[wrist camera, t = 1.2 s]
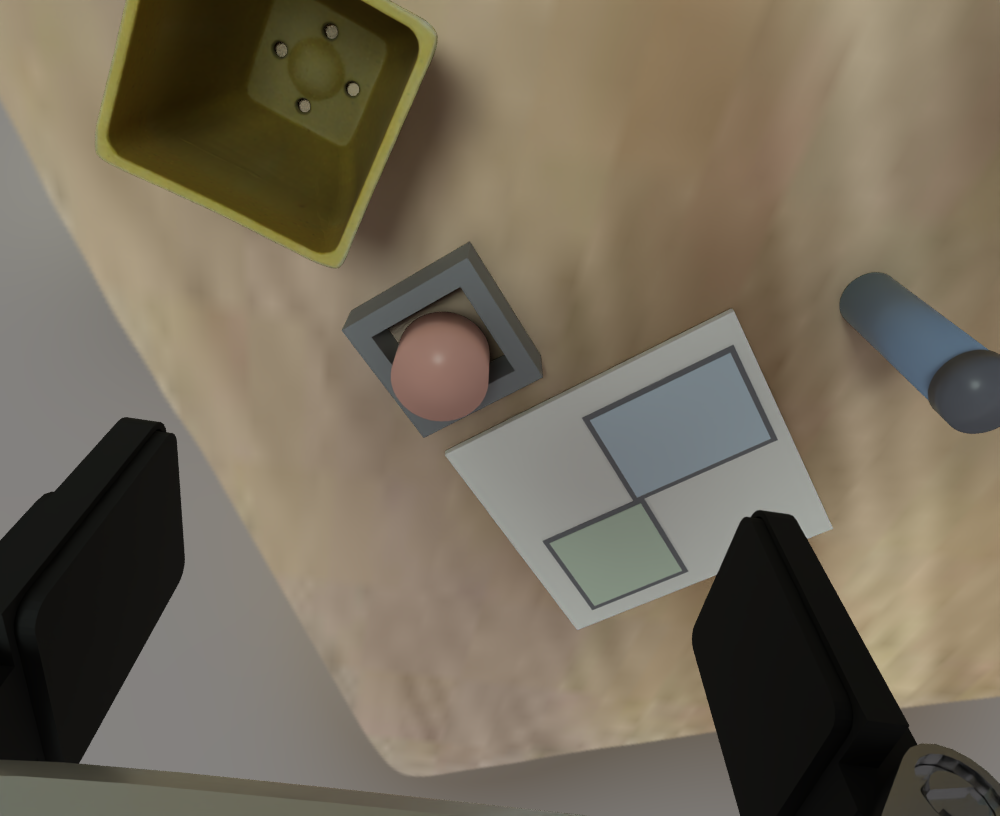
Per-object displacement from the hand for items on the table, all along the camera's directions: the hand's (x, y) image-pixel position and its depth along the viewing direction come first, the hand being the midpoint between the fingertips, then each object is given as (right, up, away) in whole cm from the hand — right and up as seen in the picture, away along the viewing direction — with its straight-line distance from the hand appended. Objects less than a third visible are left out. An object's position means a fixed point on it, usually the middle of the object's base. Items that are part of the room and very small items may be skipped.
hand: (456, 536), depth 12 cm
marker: (+19, +8, +23) cm, 31 cm away
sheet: (+9, -3, +29) cm, 31 cm away
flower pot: (-7, +17, +19) cm, 26 cm away
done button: (-2, +5, +22) cm, 23 cm away
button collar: (-2, +6, +25) cm, 25 cm away
